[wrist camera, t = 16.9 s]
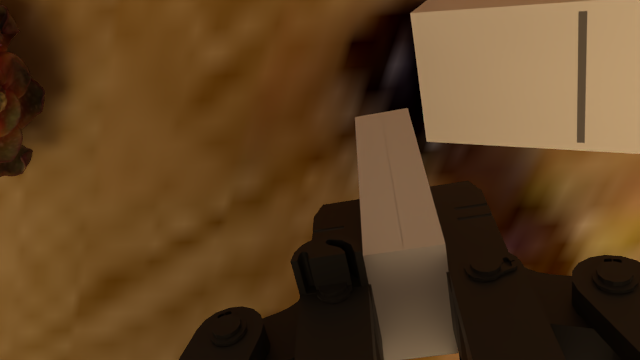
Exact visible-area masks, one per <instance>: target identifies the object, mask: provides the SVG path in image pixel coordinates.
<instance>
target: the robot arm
mask: <svg viewBox="0 0 640 360" xmlns="http://www.w3.org/2000/svg"><path fill="white" fill-rule="evenodd" d="M355 127H356V144H357V161H358V178H359V196H360V199H358V200H351V201H345V202H338V203H332V204H326V205H323V206H322V207H321V208H320V210H319V211H318V213H317V214H316V215H315V217H314V223H313V236H312V240H311V241H309V242H307V243H305V244H303V245H302V246H301V247H300V248H299V249H298V250H297V251H296V252H295V253H294V255H293V257H292V259H291V264H292V268H293V272H294V275H295V279H296V282H297V286H298V290H299V293H300V300H299V301H298V302H296V303H295V304H294V305H292V306H291V307H289V308H287V309H285V310H283V311H281V312H279V313H276V314H274V315H271V316H268V317H266V318H263V319H262V318H261V315H260V314H259V313H258V312H256V311H255V310H254V309H251V308H246V307H233V308H228V309H225V310H222V311H220V312H217V313H215V314H214V315H212V316H211V317H209V318H208V319H206V320H205V321H204V322H203V323H202V325H201V326H200V327H199V328H198V329H197V331H196V332H195V334H194V336H193V337H192V339H191V340H190V342H189V344H188V345H187V347H186V349H185V350H184V352H183V354H182V355H181V357H180V359H179V360H403V359H412V358H420V357H429V356H437V355H445V354H454V353H458V351H459V357H460V360H640V262H638V261H636V260H633V259H629V258H626V257H622V256H611V255H602V256H596V257H590V258H588V259H586V260H584V261H582V262H580V263H578V265H577V266H576V267H575V268H574V270H573V271H572V276H564V275H551V274H545V273H539V272H536V271H532V270H529V269H527V268H525V267H524V266H523V264H522V263H521V262H520V261H519V259H518V258H517V257H516V256H514V255H512V254H510V253H509V252H508V250H507V248H506V245H505V243H504V241H503V238H502V236H501V234H500V232H499V229H498V227H497V225H496V222H495V220H494V218H493V216H492V214H491V211H490V209H489V206H488V205H487V202H486V200H485V197H484V195H483V193H482V190H480V189H479V188H477V187H476V186H475V185H473V184H472V183H470V182H469V181H464V182H457V183H451V184H445V185H438V186H432V187H429V183H428V180H427V176H426V172H425V169H424V165H423V162H422V158H421V155H420V151H419V147H418V144H417V140H416V137H415V133H414V129H413V126H412V122H411V119H410V115H409V111H408V108H405V109H399V110H393V111H388V112H382V113H376V114H370V115H365V116H359V117H355ZM457 347H458V349H457Z"/></svg>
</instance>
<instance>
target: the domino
mask: <svg viewBox="0 0 640 360" xmlns="http://www.w3.org/2000/svg"><path fill="white" fill-rule="evenodd" d="M410 15H411V23H412V31H413V39H414V47H415V54H416V62H417V70H418V78H419V86H420V94H421V102H422V109H423V117H424V125H425V133H426V141H427V142H442V143H459V144H476V145H494V146H511V147H529V148H546V149H564V150H581V151H598V152H616V153H633V154H640V0H427V1H425V2H424V3H423V4H421V5H420V6H419V7H418V8H416V9H415V10H414V11H412V12H411V13H410Z"/></svg>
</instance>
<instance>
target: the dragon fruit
mask: <svg viewBox="0 0 640 360" xmlns="http://www.w3.org/2000/svg"><path fill="white" fill-rule="evenodd" d="M19 31H20V30H19V29H18V28H17V26H16V22H15V21H14V19H13V18H12V16H11V15H10V14H9V12H8V9H7V7H5V6H3V5H0V177H1V176H17V175H19V174H22V173H23V172H24V170H25V169H26V167H27V165H28V164H29V162H30V160H31V156H32V152H33V151H32V150H31V149H28V148H26V147H25V146H23V145H21V144H22V139H23V136H22V132H21V130H20V129H22V128H24V127H25V126H27V125H28V124H29V123H30V121H32V119H33V118H34V117H35V116H36V115H38V114H39V113H41V112H42V110H43V106H44V94H45V91H44V89H43V88H42V87H41V86H40V85H39V84H38V83H37V82H35V81H34V80H33V79H32V78H31V74H30V72H29V70H28V69H27V66H26V65H25V63H24V62H23V61H22V60H21V59H20V58H19V57H18V56H17V55H15V54H13V53H10V52H6V51H7V49H8V46H9V43H10V41H11V40H12V38H13V37H14V36H15V35H16V34H17V33H19Z"/></svg>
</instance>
